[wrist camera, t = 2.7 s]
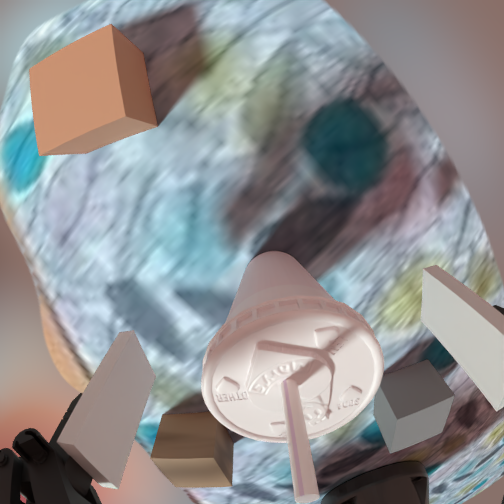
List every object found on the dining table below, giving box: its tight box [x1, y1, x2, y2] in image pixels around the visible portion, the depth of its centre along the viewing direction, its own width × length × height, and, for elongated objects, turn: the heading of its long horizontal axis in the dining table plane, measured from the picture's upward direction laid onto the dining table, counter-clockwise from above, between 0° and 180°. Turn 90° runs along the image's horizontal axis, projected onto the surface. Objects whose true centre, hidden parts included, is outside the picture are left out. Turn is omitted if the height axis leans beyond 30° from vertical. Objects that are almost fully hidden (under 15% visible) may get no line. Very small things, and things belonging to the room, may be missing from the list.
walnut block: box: [151, 411, 234, 487], centre depth 20 cm, size 5×5×5 cm
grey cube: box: [373, 359, 455, 454], centre depth 19 cm, size 5×5×5 cm
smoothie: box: [201, 251, 384, 503], centre depth 12 cm, size 6×6×14 cm
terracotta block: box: [29, 24, 158, 156], centre depth 13 cm, size 5×5×5 cm
